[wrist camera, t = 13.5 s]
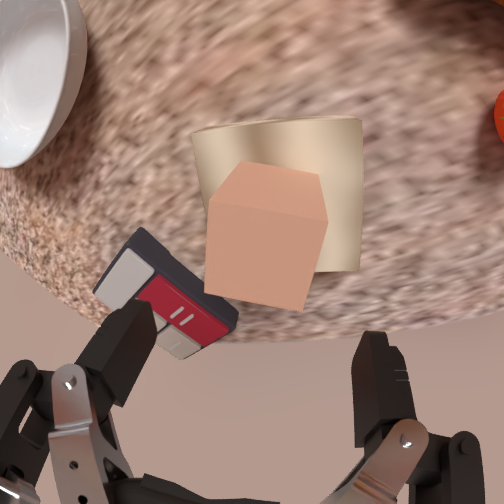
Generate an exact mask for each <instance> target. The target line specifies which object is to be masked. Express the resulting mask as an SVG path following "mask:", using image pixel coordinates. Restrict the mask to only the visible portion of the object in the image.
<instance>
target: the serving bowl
mask: <svg viewBox="0 0 504 504" xmlns="http://www.w3.org/2000/svg"><path fill="white" fill-rule="evenodd" d="M86 58H87V29H86V23H85V19H84V15H83V12H82V10H81V8H80V5H79V4H78V2H77V0H0V168H5V169H8V168H15V167H18V166H20V165H22V164H24V163H25V162H27V161H28V160H30V159H31V158H32V157H34V156H35V155H36V154H38V153H39V152H40V151H41V150H42V149H43V148H44V147H46V146H47V145H48V143H49V142H50V141H51V140H52V139H53V138H54V137H55V135H56V134H57V133H58V131H59V130H60V128H61V127H62V125H63V124H64V122H65V120H66V119H67V117H68V115H69V113H70V111H71V109H72V107H73V105H74V103H75V100H76V98H77V95H78V92H79V89H80V86H81V83H82V79H83V75H84V71H85V65H86Z"/></svg>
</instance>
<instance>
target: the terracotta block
mask: <svg viewBox="0 0 504 504" xmlns="http://www.w3.org/2000/svg"><path fill="white" fill-rule="evenodd" d="M328 223H329V221H328V216H327V211H326V207H325V202H324V197H323V193H322V188H321V184H320V180H319V176H318V174H315V173H310V172H305V171H300V170H295V169H289V168H284V167H278V166H273V165H267V164H261V163H255V162H248V161H242V160H241V161H240V162H239V163H238V165H237V166H236V167H235V168H234V169H233V171H232V172H231V173H230V174H229V176H228V177H227V178H226V179H225V181H224V182H223V183H222V184H221V186H220V187H219V188H218V189H217V191H216V192H215V193H214V194H213V196H212V197H211V198H210V199H209V207H208V223H207V240H206V260H205V283H204V293H208V294H212V295H217V296H222V297H227V298H232V299H237V300H242V301H247V302H252V303H257V304H262V305H267V306H273V307H278V308H284V309H289V310H295V311H301V312H302V310H303V307H304V304H305V301H306V298H307V295H308V291H309V288H310V285H311V282H312V279H313V275H314V272H315V269H316V265H317V262H318V258H319V255H320V251H321V248H322V244H323V241H324V237H325V234H326V230H327V226H328Z"/></svg>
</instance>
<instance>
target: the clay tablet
mask: <svg viewBox="0 0 504 504" xmlns="http://www.w3.org/2000/svg"><path fill="white" fill-rule="evenodd" d="M492 1H494V2H496V3H498V4H500V5H502V6H504V0H492Z"/></svg>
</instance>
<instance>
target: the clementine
mask: <svg viewBox="0 0 504 504" xmlns="http://www.w3.org/2000/svg"><path fill="white" fill-rule="evenodd" d="M494 119H495V125H496V129H497V132H498V134H499V136H500V138H501V140H502V141H503V143H504V90H503V91H502V92H501V93H500V94H499V96H498V98H497V99H496V103H495V107H494Z"/></svg>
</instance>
